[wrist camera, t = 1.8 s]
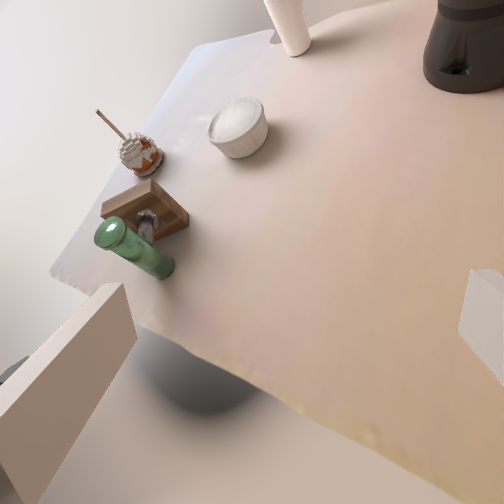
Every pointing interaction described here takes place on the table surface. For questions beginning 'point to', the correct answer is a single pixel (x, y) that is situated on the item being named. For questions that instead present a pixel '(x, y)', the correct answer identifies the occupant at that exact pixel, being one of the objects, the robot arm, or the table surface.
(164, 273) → the green tall capped cylinder
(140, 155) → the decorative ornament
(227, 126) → the ramekin
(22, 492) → the robot arm
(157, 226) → the brown striped block
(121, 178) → the table surface
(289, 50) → the drinking glass
